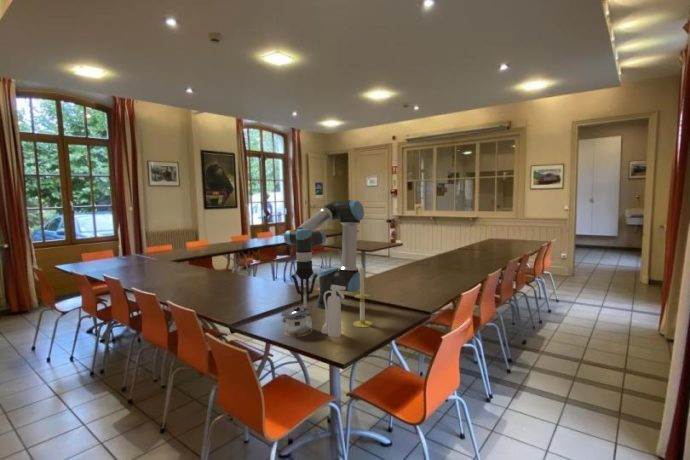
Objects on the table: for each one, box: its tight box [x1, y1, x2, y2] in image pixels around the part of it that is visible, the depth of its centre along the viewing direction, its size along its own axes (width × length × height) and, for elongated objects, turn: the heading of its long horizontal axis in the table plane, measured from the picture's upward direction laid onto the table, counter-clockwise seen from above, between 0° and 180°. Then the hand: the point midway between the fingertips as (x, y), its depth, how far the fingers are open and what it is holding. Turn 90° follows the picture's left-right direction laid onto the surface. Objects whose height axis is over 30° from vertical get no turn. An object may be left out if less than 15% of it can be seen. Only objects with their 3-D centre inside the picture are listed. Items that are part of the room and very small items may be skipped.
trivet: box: [284, 328, 314, 337], centre depth 179 cm, size 14×14×1 cm
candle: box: [352, 263, 373, 328], centre depth 187 cm, size 10×10×32 cm
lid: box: [281, 304, 312, 318], centre depth 178 cm, size 15×14×2 cm
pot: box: [282, 312, 313, 337], centre depth 179 cm, size 14×18×8 cm
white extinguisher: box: [320, 285, 346, 338], centre depth 172 cm, size 7×12×25 cm, turn 73°
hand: (305, 307), depth 178 cm, fingers closed
